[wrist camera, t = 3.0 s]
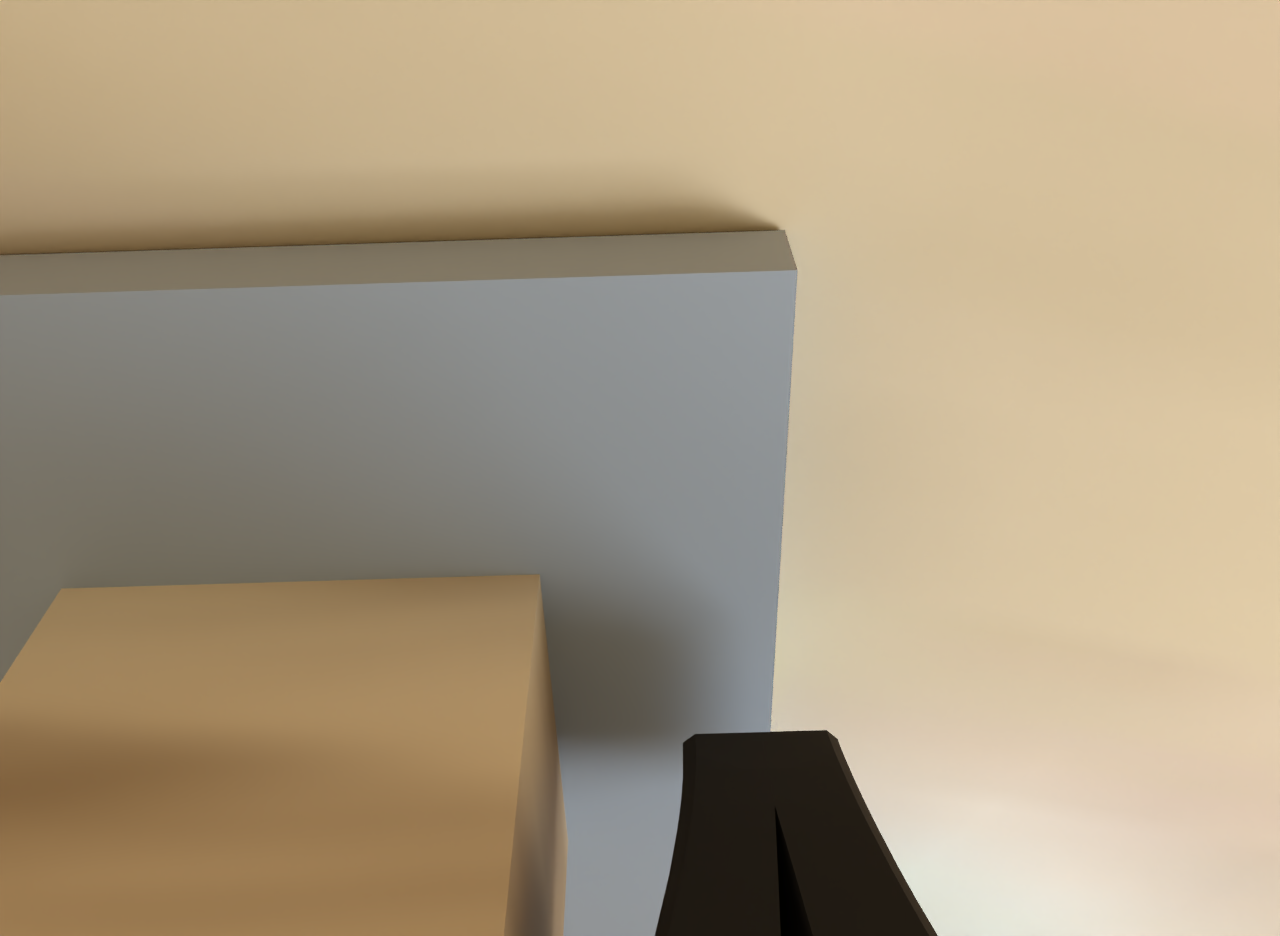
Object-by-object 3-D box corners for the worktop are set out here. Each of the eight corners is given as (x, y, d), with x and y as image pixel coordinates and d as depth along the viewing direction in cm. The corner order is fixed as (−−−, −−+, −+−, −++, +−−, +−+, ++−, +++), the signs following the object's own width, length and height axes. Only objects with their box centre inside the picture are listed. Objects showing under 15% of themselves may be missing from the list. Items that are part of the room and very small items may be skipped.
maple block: (567, 840, 12) (547, 1245, 9) (177, 851, 12) (15, 1259, 9) (539, 574, 10) (497, 985, 7) (61, 588, 10) (-210, 1005, 7)
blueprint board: (749, 923, 15) (765, 1074, 13) (-341, 953, 15) (-461, 1107, 13) (784, 230, 9) (819, 343, 7) (-986, 286, 9) (-1342, 410, 7)
